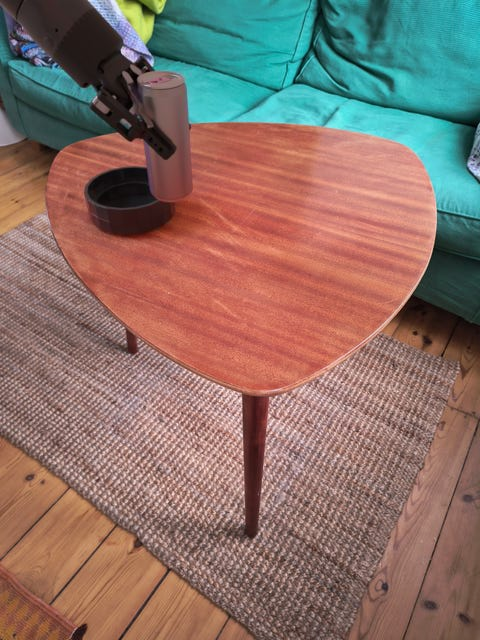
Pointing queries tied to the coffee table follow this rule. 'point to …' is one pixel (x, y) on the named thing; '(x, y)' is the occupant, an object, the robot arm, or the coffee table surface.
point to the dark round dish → (125, 202)
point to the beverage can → (168, 134)
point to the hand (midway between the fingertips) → (179, 143)
